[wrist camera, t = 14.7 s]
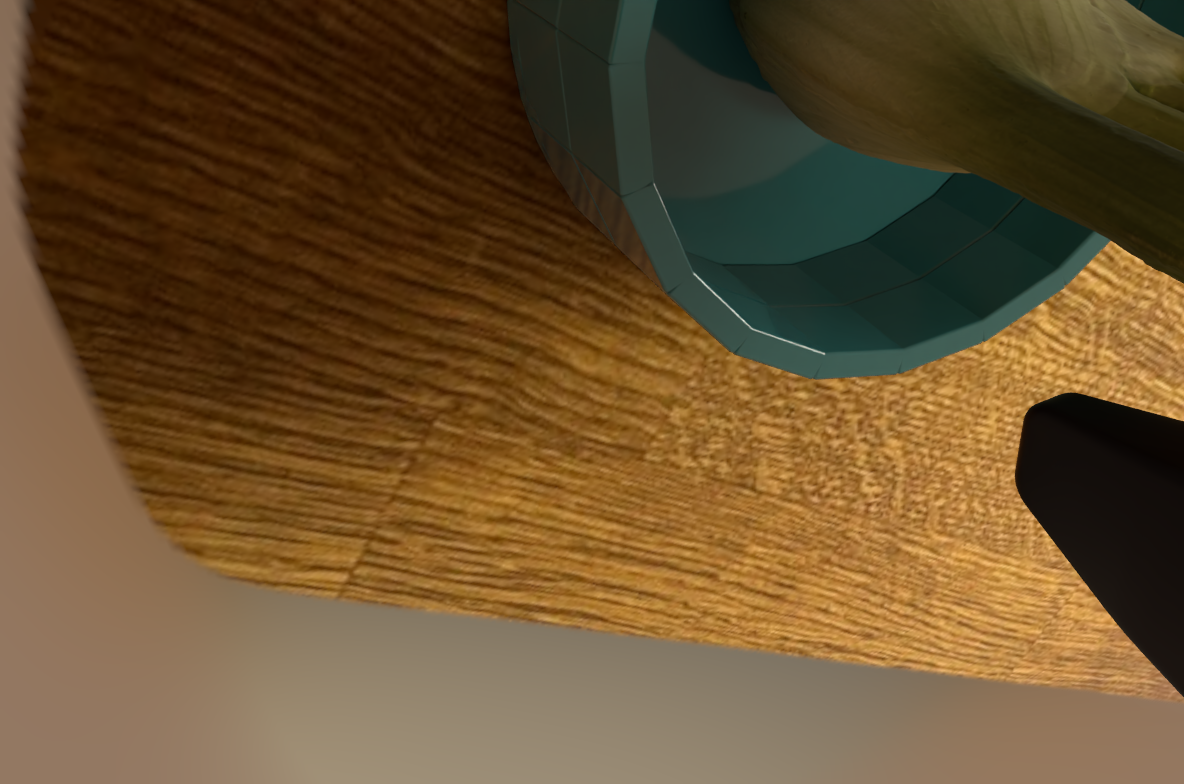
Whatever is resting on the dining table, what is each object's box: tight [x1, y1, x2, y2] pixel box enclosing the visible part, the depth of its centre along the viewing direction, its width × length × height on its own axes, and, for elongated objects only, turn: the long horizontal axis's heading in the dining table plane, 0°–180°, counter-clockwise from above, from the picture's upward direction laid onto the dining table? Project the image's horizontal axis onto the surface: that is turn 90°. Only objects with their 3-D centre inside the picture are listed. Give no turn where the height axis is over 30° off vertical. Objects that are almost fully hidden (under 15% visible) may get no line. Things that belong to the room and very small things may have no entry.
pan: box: [507, 0, 1184, 380], centre depth 20 cm, size 13×13×4 cm
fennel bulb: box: [729, 0, 1184, 283], centre depth 17 cm, size 6×5×12 cm
